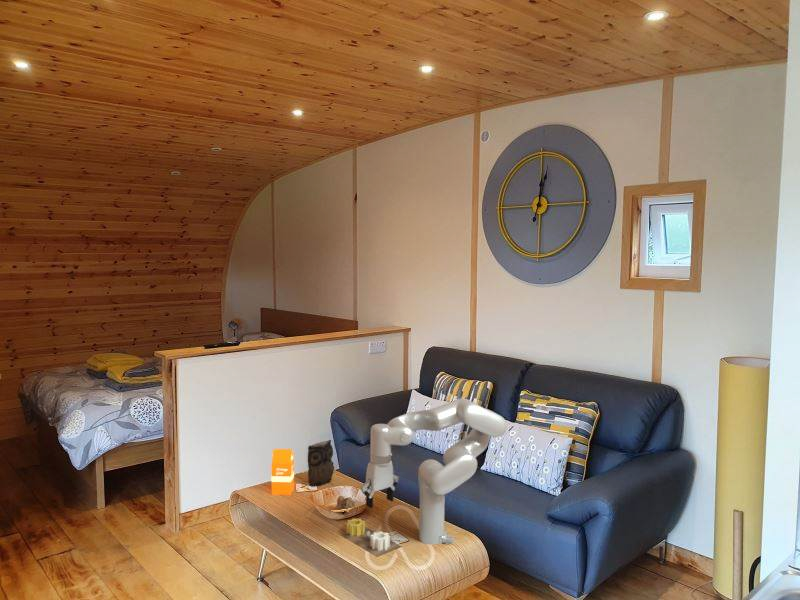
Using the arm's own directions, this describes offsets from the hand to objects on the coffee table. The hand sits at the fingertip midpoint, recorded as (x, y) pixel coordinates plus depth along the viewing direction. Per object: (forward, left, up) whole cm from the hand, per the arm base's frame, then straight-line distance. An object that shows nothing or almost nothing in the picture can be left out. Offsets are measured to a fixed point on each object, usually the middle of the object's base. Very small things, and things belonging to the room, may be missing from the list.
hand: (379, 503), depth 226 cm
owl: (+57, -50, -18) cm, 78 cm away
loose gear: (0, 0, -16) cm, 16 cm away
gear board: (+6, -3, -18) cm, 19 cm away
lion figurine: (+27, -22, -18) cm, 39 cm away
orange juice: (+65, -32, -18) cm, 74 cm away
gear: (+13, -6, -16) cm, 22 cm away
